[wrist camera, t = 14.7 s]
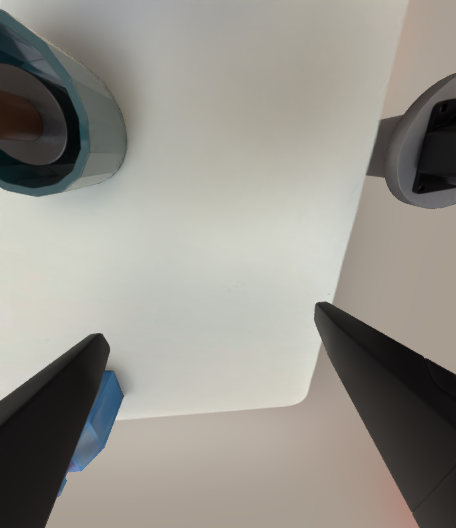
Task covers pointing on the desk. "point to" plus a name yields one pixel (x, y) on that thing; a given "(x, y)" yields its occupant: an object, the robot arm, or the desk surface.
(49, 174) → the teal pipe cap
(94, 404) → the perfume bottle
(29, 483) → the robot arm
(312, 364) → the desk surface
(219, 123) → the desk surface
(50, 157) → the brush
